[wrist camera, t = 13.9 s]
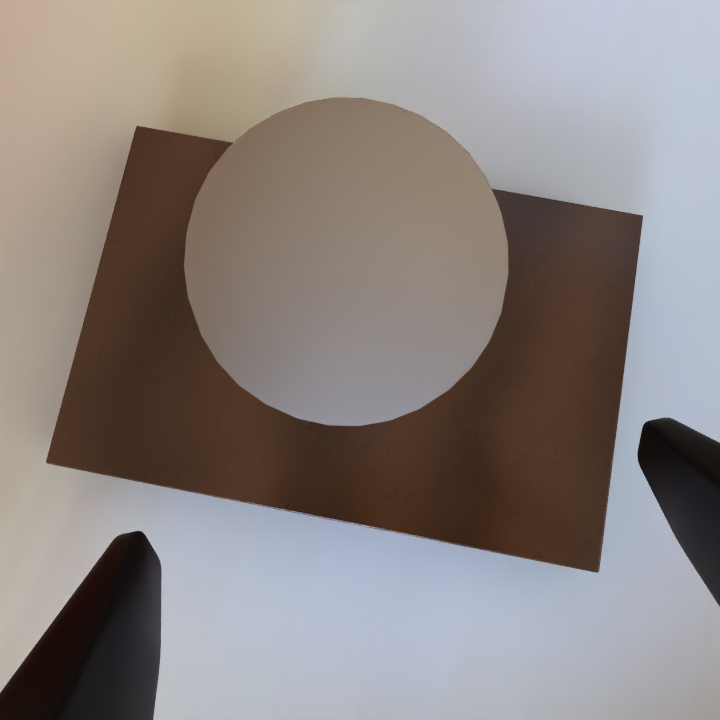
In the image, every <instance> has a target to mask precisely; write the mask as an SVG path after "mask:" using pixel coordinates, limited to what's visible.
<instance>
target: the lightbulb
mask: <svg viewBox="0 0 720 720" xmlns="http://www.w3.org/2000/svg"><path fill="white" fill-rule="evenodd" d="M184 271H185V278H186V286H187V293H188V299H189V302H190V304H191V307H192V310H193V313H194V316H195V319H196V321H197V324H198V327H199V330H200V333H201V336H202V337H203V339H204V341H205V342H206V344H207V345H208V347H209V349H210V350H211V352H212V354H213V355H214V357H215V359H216V360H217V362H218V363H219V364H220V365H221V366H222V367H223V369H224V370H225V371H226V372H227V373H228V374H229V375H230V376H231V377H232V378H233V379H234V380H235V381H236V383H237V384H238V385H239V386H241V387H242V388H244V389H245V390H246V391H248V392H249V393H251V394H252V395H253V396H255V397H256V398H258V399H259V400H260V401H262V402H263V403H265V404H266V405H269V406H271V407H273V408H275V409H278V410H280V411H282V412H284V413H287V414H289V415H291V416H293V417H296V418H298V419H302V420H307V421H311V422H316V423H320V424H325V425H339V426H362V425H368V424H373V423H379V422H385V421H390V420H393V419H395V418H398V417H400V416H403V415H405V414H408V413H410V412H413V411H416V410H418V409H420V408H422V407H423V406H425V405H426V404H428V403H429V402H431V401H432V400H434V399H436V398H437V397H439V396H440V395H442V394H443V393H445V392H446V391H448V390H449V389H450V388H451V387H452V386H453V385H454V384H455V383H456V382H457V381H459V380H460V379H461V378H462V377H463V376H464V375H465V374H466V373H467V372H468V371H469V370H470V369H471V368H472V366H473V365H474V363H475V362H476V361H477V359H478V358H479V356H480V355H481V353H482V352H483V350H484V349H485V347H486V346H487V344H488V343H489V341H490V339H491V336H492V334H493V331H494V329H495V327H496V324H497V322H498V319H499V317H500V315H501V311H502V306H503V301H504V295H505V290H506V285H507V279H508V241H507V237H506V232H505V228H504V223H503V219H502V214H501V211H500V208H499V205H498V203H497V200H496V198H495V196H494V194H493V192H492V189H491V187H490V185H489V183H488V180H487V178H486V176H485V175H484V173H483V172H482V171H481V169H480V168H479V166H478V165H477V164H476V162H475V161H474V159H473V158H472V157H471V155H470V154H469V152H468V151H466V150H465V149H464V148H463V147H462V146H461V145H460V144H459V143H458V142H457V141H456V140H455V139H454V138H453V137H452V136H451V135H450V134H448V133H447V132H446V131H445V130H443V129H441V128H440V127H438V126H437V125H435V124H434V123H432V122H430V121H429V120H427V119H426V118H424V117H423V116H421V115H418V114H416V113H413V112H411V111H408V110H406V109H403V108H401V107H398V106H396V105H393V104H389V103H384V102H379V101H374V100H369V99H364V98H329V99H323V100H317V101H311V102H306V103H303V104H300V105H297V106H294V107H292V108H289V109H286V110H283V111H281V112H278V113H276V114H274V115H273V116H271V117H269V118H267V119H266V120H264V121H262V122H261V123H259V124H257V125H255V126H254V127H252V128H250V129H249V130H248V131H247V132H246V133H245V134H243V135H242V136H241V137H240V138H239V139H238V140H237V141H235V142H234V143H233V144H232V145H231V146H230V147H228V148H227V150H226V151H225V152H224V154H223V155H222V156H221V157H220V159H219V160H218V161H217V162H216V164H215V165H214V166H213V168H212V169H211V170H210V171H209V173H208V175H207V177H206V179H205V181H204V183H203V185H202V187H201V189H200V191H199V193H198V195H197V197H196V199H195V203H194V207H193V210H192V214H191V217H190V221H189V224H188V229H187V235H186V246H185V260H184Z"/></svg>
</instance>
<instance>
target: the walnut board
mask: <svg viewBox="0 0 720 720" xmlns="http://www.w3.org/2000/svg"><path fill="white" fill-rule="evenodd" d="M232 144H233V143H230V142H225V141H219V140H213V139H208V138H202V137H196V136H191V135H185V134H179V133H174V132H168V131H163V130H157V129H151V128H146V127H140V126H137V127H136V130H135V134H134V137H133V141H132V145H131V149H130V152H129V156H128V160H127V163H126V167H125V171H124V175H123V178H122V182H121V186H120V189H119V193H118V197H117V201H116V204H115V208H114V212H113V215H112V219H111V223H110V227H109V230H108V234H107V238H106V241H105V245H104V249H103V253H102V256H101V260H100V264H99V267H98V271H97V275H96V278H95V282H94V286H93V290H92V293H91V297H90V301H89V304H88V308H87V312H86V316H85V319H84V323H83V327H82V330H81V334H80V338H79V342H78V345H77V349H76V353H75V356H74V360H73V364H72V368H71V371H70V375H69V379H68V382H67V386H66V390H65V393H64V397H63V401H62V405H61V408H60V412H59V416H58V419H57V423H56V427H55V431H54V434H53V438H52V442H51V445H50V449H49V453H48V457H47V460H46V463H48V464H52V465H57V466H62V467H67V468H72V469H77V470H83V471H88V472H93V473H98V474H103V475H108V476H113V477H118V478H123V479H128V480H133V481H138V482H143V483H148V484H153V485H158V486H163V487H168V488H173V489H178V490H183V491H188V492H193V493H198V494H203V495H208V496H213V497H219V498H224V499H229V500H234V501H239V502H244V503H249V504H254V505H259V506H264V507H269V508H274V509H279V510H284V511H289V512H294V513H299V514H304V515H309V516H314V517H319V518H324V519H329V520H334V521H339V522H344V523H350V524H355V525H360V526H365V527H370V528H375V529H380V530H385V531H390V532H395V533H400V534H405V535H410V536H415V537H420V538H425V539H430V540H435V541H440V542H445V543H450V544H455V545H460V546H465V547H470V548H475V549H480V550H486V551H491V552H496V553H501V554H506V555H511V556H516V557H521V558H526V559H531V560H536V561H541V562H546V563H551V564H556V565H561V566H566V567H571V568H576V569H581V570H586V571H591V572H596V573H597V572H599V567H600V559H601V551H602V543H603V535H604V527H605V519H606V511H607V502H608V494H609V486H610V478H611V470H612V462H613V454H614V446H615V438H616V430H617V422H618V414H619V406H620V397H621V389H622V381H623V373H624V365H625V357H626V349H627V341H628V333H629V325H630V317H631V309H632V301H633V293H634V284H635V276H636V268H637V260H638V252H639V244H640V236H641V228H642V220H643V216H642V215H636V214H631V213H625V212H619V211H614V210H608V209H602V208H597V207H591V206H585V205H580V204H574V203H569V202H563V201H557V200H552V199H546V198H540V197H535V196H529V195H523V194H518V193H512V192H507V191H501V190H495V189H492V192H493V194H494V196H495V198H496V200H497V203H498V205H499V208H500V211H501V214H502V219H503V223H504V228H505V232H506V237H507V241H508V279H507V285H506V290H505V295H504V301H503V306H502V311H501V315H500V317H499V319H498V322H497V324H496V327H495V329H494V331H493V334H492V336H491V339H490V341H489V343H488V344H487V346H486V347H485V349H484V350H483V352H482V353H481V355H480V356H479V358H478V359H477V361H476V362H475V363H474V365H473V366H472V368H471V369H470V370H469V371H468V372H467V373H466V374H465V375H464V376H463V377H462V378H461V379H460V380H459V381H457V382H456V383H455V384H454V385H453V386H452V387H451V388H450V389H449V390H448V391H446V392H445V393H443V394H442V395H440V396H439V397H437V398H436V399H434V400H432V401H431V402H429V403H428V404H426V405H425V406H423V407H422V408H420V409H418V410H416V411H413V412H410V413H408V414H405V415H403V416H400V417H398V418H395V419H393V420H390V421H385V422H379V423H373V424H368V425H362V426H339V425H325V424H320V423H316V422H311V421H307V420H302V419H298V418H296V417H293V416H291V415H289V414H287V413H284V412H282V411H280V410H278V409H275V408H273V407H271V406H269V405H266V404H265V403H263V402H262V401H260V400H259V399H258V398H256V397H255V396H253V395H252V394H251V393H249V392H248V391H246V390H245V389H244V388H242V387H241V386H239V385H238V384H237V383H236V381H235V380H234V379H233V378H232V377H231V376H230V375H229V374H228V373H227V372H226V371H225V370H224V369H223V367H222V366H221V365H220V364H219V363H218V362H217V360H216V359H215V357H214V355H213V354H212V352H211V350H210V349H209V347H208V345H207V344H206V342H205V341H204V339H203V337H202V336H201V333H200V330H199V327H198V324H197V321H196V319H195V316H194V313H193V310H192V307H191V304H190V302H189V299H188V293H187V286H186V278H185V271H184V260H185V246H186V235H187V229H188V224H189V221H190V217H191V214H192V210H193V207H194V203H195V199H196V197H197V195H198V193H199V191H200V189H201V187H202V185H203V183H204V181H205V179H206V177H207V175H208V173H209V171H210V170H211V169H212V168H213V166H214V165H215V164H216V162H217V161H218V160H219V159H220V157H221V156H222V155H223V154H224V152H225V151H226V150H227V148H228V147H230V146H231V145H232Z"/></svg>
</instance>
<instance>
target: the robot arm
mask: <svg viewBox="0 0 720 720" xmlns="http://www.w3.org/2000/svg"><path fill="white" fill-rule="evenodd" d="M638 462H639V465H640V467H641V469H642V471H643V473H644V475H645V477H646V479H647V481H648V483H649V485H650V487H651V489H652V491H653V493H654V495H655V497H656V499H657V501H658V503H659V505H660V507H661V509H662V511H663V513H664V515H665V517H666V519H667V521H668V523H669V525H670V527H671V529H672V531H673V533H674V535H675V537H676V538H677V540H678V542H679V544H680V545H681V547H682V549H683V550H684V552H685V553H686V555H687V557H688V558H689V560H690V561H691V563H692V564H693V566H694V567H695V569H696V571H697V572H698V574H699V575H700V577H701V578H702V580H703V581H704V583H705V584H706V586H707V588H708V589H709V591H710V592H711V594H712V595H713V597H714V598H715V600H716V602H717V603H718V605H719V606H720V443H719V442H717V441H715V440H713V439H711V438H709V437H707V436H705V435H703V434H701V433H699V432H697V431H695V430H693V429H691V428H689V427H688V426H686V425H684V424H682V423H680V422H678V421H676V420H674V419H671V418H660V419H656V420H651V421H647V422H646V423H645V424H644V425H643V428H642V433H641V438H640V443H639V448H638ZM160 649H161V564H160V560H159V558H158V556H157V554H156V552H155V551H154V549H153V547H152V546H151V544H150V542H149V541H148V539H147V537H146V536H145V534H144V533H143V532H141V531H135V532H130V533H126V534H121V535H119V536H117V537H116V538H115V539H114V540H113V541H112V542H111V544H110V545H109V547H108V548H107V549H106V551H105V552H104V553H103V555H102V556H101V557H100V559H99V560H98V561H97V563H96V564H95V565H94V567H93V568H92V570H91V571H90V572H89V574H88V575H87V576H86V578H85V579H84V580H83V582H82V583H81V584H80V586H79V587H78V588H77V590H76V591H75V592H74V594H73V595H72V597H71V598H70V599H69V601H68V602H67V603H66V605H65V606H64V607H63V609H62V610H61V611H60V613H59V614H58V615H57V617H56V618H55V620H54V621H53V622H52V624H51V625H50V626H49V628H48V629H47V630H46V632H45V633H44V634H43V636H42V637H41V638H40V640H39V641H38V643H37V644H36V645H35V647H34V648H33V649H32V651H31V652H30V653H29V655H28V656H27V657H26V659H25V660H24V661H23V663H22V664H21V666H20V667H19V668H18V670H17V671H16V672H15V674H14V675H13V676H12V678H11V679H10V680H9V682H8V683H7V684H6V686H5V687H4V688H3V690H2V691H1V693H0V720H153V715H154V707H155V699H156V691H157V682H158V674H159V664H160Z"/></svg>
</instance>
